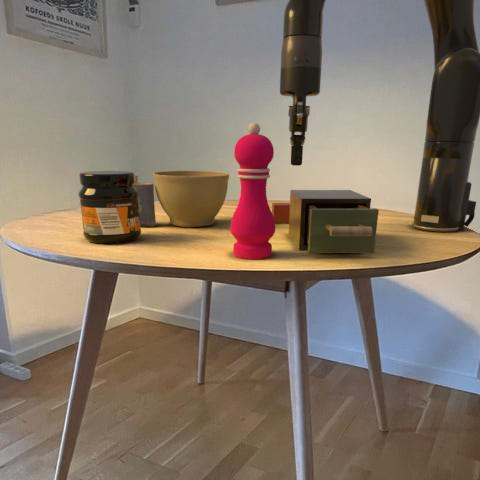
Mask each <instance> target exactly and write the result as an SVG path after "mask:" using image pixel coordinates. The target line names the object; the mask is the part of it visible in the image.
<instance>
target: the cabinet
mask: <svg viewBox="0 0 480 480" xmlns="http://www.w3.org/2000/svg"><path fill="white" fill-rule="evenodd" d="M289 193H290V194H289V203H290V215H289V223H288V236H289V237H290V238H291V240H292V242H293V244H295V246H296V247H297V249H298V250H299V251H308V243H307V242H306V241H305V240H304V234H305V215H306V204H348V203H359V204H361V205H363V206H365V207H367V208H369V209H371V204H372V198H371V197H369V196H366V195H363V194H361V193H360V192H359V193H358V192H356V191H354V190H351V189H290V192H289Z"/></svg>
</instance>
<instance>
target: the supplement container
mask: <svg viewBox="0 0 480 480" xmlns="http://www.w3.org/2000/svg"><path fill="white" fill-rule="evenodd" d="M134 174H135V172H133V171H128V170H91V171H90V170H89V171H82V172H79V183H80V185H81V186H82V187H81V188H80V190H79V191H78V198H79V202H80V203H79V204H80V210H81V211H80V212H81V219H82V228H83V229H82V230H83V237H84V239H85V240H87V241H89V242H90V243H93V244H101V245H103V244H104V245H112V244H114V245H115V244H124V243H130V242H133V241H137V239H139V238H140V237H141V235H142V228H141V226H140V216H139V202H138V196H139V193H138V190H137V189H136V188H135V187H134V185H133V184H134V183H135V176H134Z"/></svg>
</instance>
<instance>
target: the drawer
mask: <svg viewBox="0 0 480 480" xmlns="http://www.w3.org/2000/svg"><path fill="white" fill-rule="evenodd" d="M379 210H380V209H378V208H370V209H369V208H367V207H365V206H363V205H361V204H359V203H348V204H306V215H305V234H304V240H305V241H306V242H307V243H308V250H307V252H308V254H374V253H375V247H376V239H377V238H376V237H377V230H378V222H379V221H378V219H379Z"/></svg>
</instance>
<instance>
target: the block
mask: <svg viewBox="0 0 480 480" xmlns="http://www.w3.org/2000/svg"><path fill="white" fill-rule="evenodd" d="M271 212H272V215H273V217H274V221H275V224H289V215H290V202H272V203H271Z"/></svg>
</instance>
